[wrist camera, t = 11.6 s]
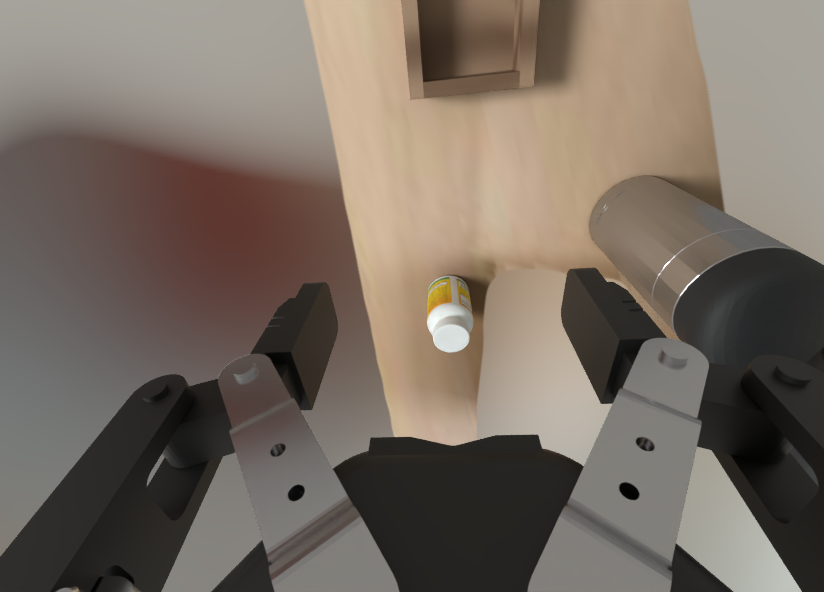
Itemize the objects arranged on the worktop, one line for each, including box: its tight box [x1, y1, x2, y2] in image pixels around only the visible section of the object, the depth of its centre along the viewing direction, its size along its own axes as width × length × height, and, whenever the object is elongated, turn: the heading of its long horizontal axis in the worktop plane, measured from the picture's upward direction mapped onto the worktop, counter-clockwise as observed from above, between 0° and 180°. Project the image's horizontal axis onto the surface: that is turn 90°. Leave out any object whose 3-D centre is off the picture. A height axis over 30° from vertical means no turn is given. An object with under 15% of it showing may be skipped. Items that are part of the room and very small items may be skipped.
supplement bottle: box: [427, 276, 473, 352], centre depth 44 cm, size 5×5×10 cm
